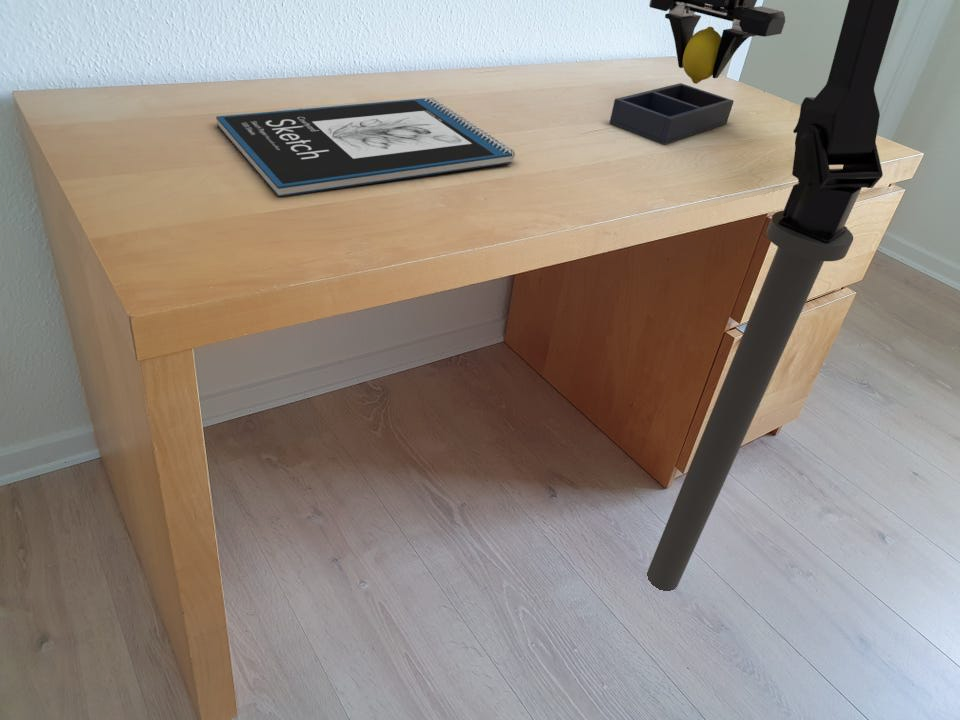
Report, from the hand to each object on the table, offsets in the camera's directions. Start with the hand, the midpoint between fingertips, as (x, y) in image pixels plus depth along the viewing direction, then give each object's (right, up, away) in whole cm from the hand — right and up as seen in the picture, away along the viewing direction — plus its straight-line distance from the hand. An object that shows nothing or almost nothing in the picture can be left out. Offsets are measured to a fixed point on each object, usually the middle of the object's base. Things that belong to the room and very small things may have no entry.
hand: (698, 72), depth 107 cm
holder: (-4, -7, +2) cm, 8 cm away
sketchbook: (-46, -17, -19) cm, 53 cm away
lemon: (0, -1, +1) cm, 2 cm away
